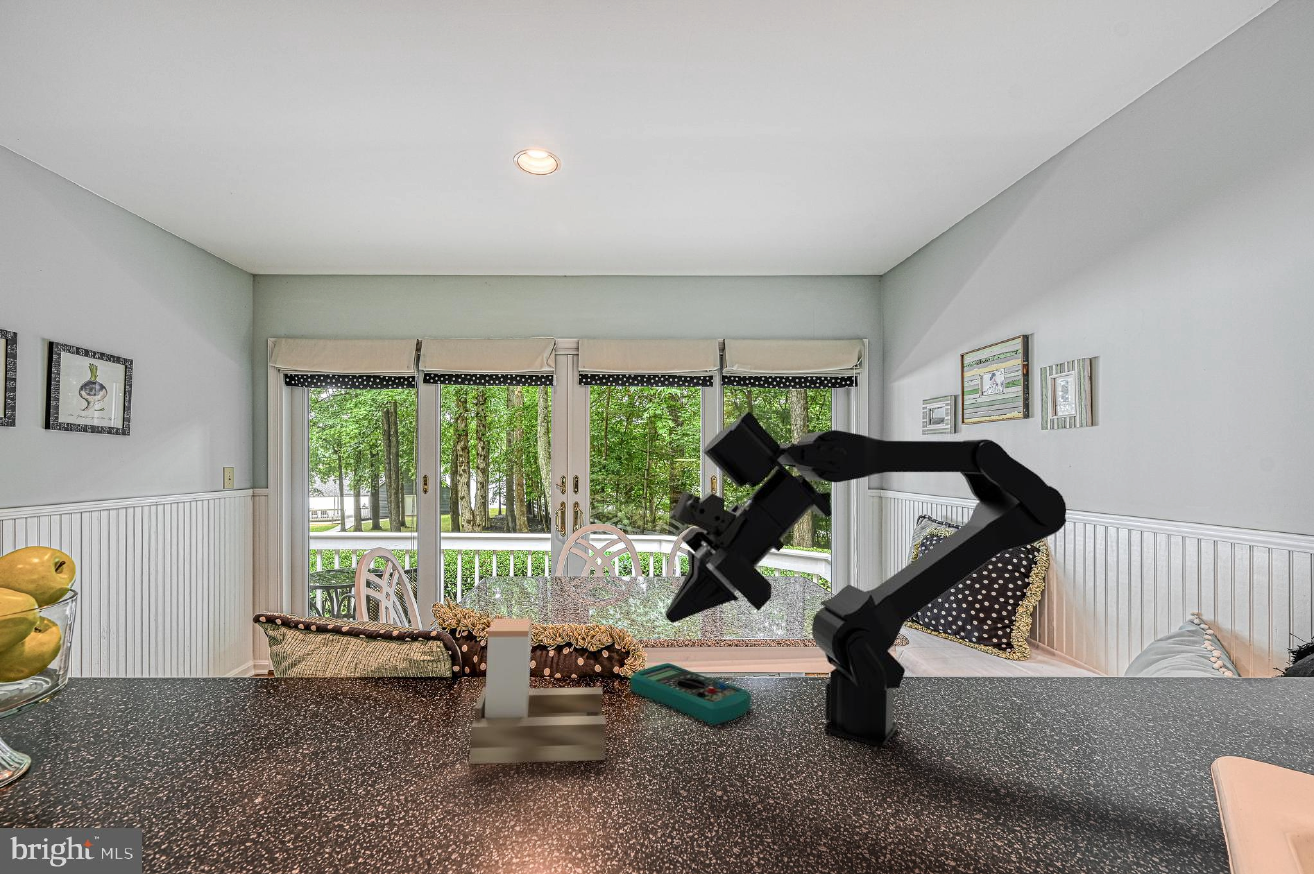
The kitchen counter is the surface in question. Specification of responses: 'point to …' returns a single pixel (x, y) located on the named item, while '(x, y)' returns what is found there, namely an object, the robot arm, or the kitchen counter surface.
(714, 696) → the digital multimeter
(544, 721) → the open taupe tray
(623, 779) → the kitchen counter surface
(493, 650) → the switch tab
